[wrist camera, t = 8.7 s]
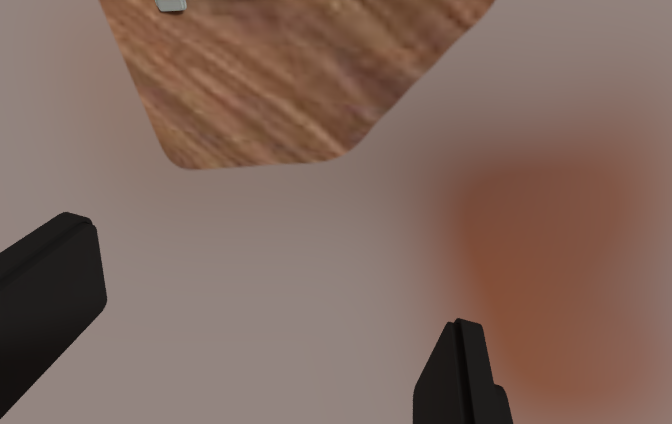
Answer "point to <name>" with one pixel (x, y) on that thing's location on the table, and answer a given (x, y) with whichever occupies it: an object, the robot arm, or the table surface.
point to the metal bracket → (171, 5)
